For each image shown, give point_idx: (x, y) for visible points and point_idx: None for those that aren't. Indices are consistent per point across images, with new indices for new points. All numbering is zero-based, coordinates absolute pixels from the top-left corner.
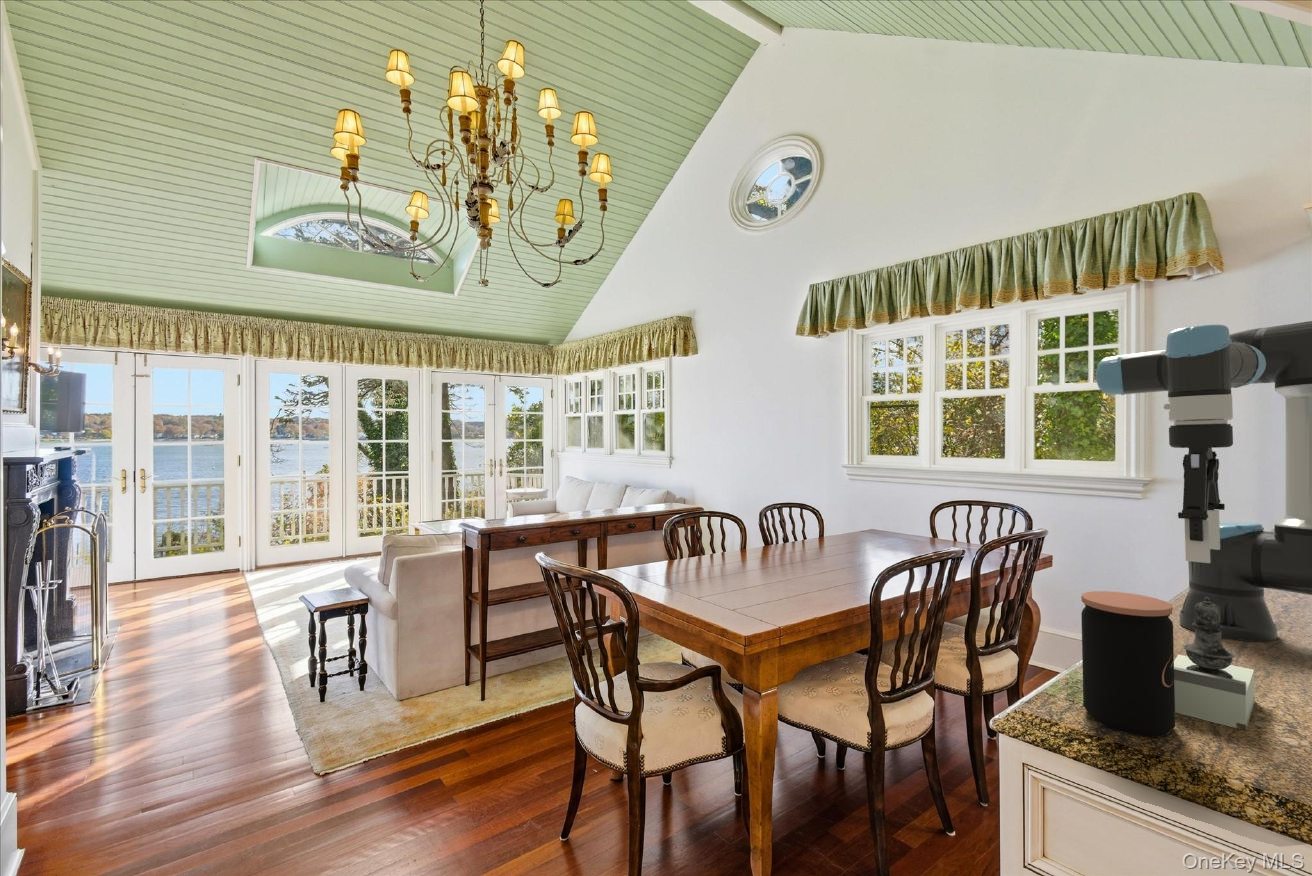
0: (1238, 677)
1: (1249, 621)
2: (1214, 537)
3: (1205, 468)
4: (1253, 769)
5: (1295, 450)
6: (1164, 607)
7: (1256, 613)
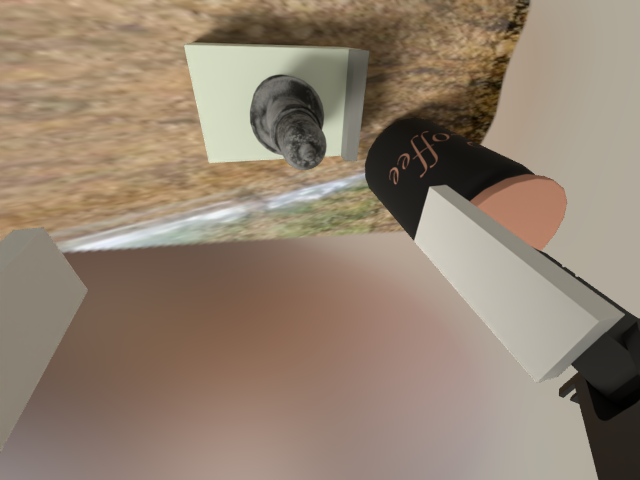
0: (266, 66)
1: None
2: (15, 290)
3: None
4: (463, 32)
5: None
6: (543, 187)
7: None
